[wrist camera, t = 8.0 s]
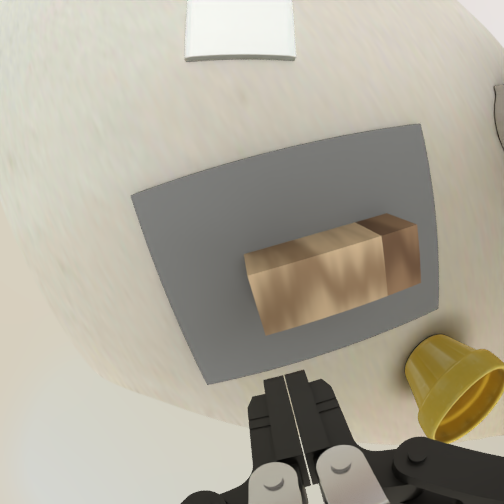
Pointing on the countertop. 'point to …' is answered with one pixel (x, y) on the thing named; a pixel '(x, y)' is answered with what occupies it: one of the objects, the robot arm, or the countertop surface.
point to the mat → (280, 231)
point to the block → (333, 271)
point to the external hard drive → (239, 30)
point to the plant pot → (453, 386)
